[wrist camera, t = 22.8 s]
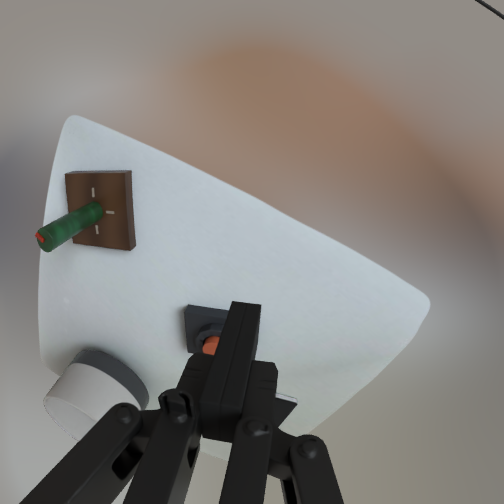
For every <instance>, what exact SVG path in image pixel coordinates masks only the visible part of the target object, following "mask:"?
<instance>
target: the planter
mask: <svg viewBox="0 0 504 504" xmlns="http://www.w3.org/2000/svg"><path fill="white" fill-rule="evenodd" d="M43 402H44V406H45V408H46V410H47V412H48V414H49V415H50V416H51V418H52V419H53V420H54V421H55V422H56V423H57V424H58V425H59V426H60V427H61V428H62V429H63V430H64V431H65V432H67V433H68V434H69V435H70V436H72V437H73V438H74V439H76V440H77V441H80V440H81V439H82V438H83V437H84V436H85V435H86V433H87V432H88V431H89V430H90V429H91V428H92V427H93V426H94V425H95V424H96V423H97V422H98V421H99V420H100V419H101V418H102V417H103V416H104V415H105V413H106V412H107V411H108V410H109V409H110V408H111V407H113V406H114V405H115V404H118V403H121V402H128V403H131V404H134V405H135V406H136V407H137V408H138V409H139V410H145V408H146V406H147V404H148V402H149V394H148V391H147V389H146V387H145V385H144V384H143V382H142V381H141V380H140V379H139V377H138V376H137V375H136V374H135V373H134V372H133V371H132V370H130V369H129V368H128V367H127V366H125V365H124V364H123V363H121V362H120V361H118V360H117V359H115V358H113V357H111V356H109V355H107V354H105V353H102V352H99V351H95V350H84V351H81V352H79V353H78V354H77V356H76V357H75V358H74V359H73V361H72V362H71V363H70V365H69V366H68V367H67V368H66V370H65V371H64V372H63V374H62V375H61V376H60V378H59V379H58V380H57V382H56V383H55V384H54V386H53V387H52V388H51V390H50V391H49V392H48V394H47V395H46V397H45V398H44V400H43Z"/></svg>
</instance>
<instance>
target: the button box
mask: <svg viewBox="0 0 504 504" xmlns="http://www.w3.org/2000/svg"><path fill="white" fill-rule="evenodd" d="M228 312H229V311H228V310H221V309H214V308H207V307H201V306H194V305H188V306H187V308H186V310H185V312H184V314H185V327H186V338H187V349H188V353H193V354H195V353H196V352H200V353H204V352H203V345H204V343H205V340H206V339H207V338H208V337H210V336H217V337H220V336H221V333H222V330H223V327H224V324H225V321H226V318H227V315H228Z"/></svg>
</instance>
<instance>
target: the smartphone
mask: <svg viewBox="0 0 504 504" xmlns="http://www.w3.org/2000/svg"><path fill="white" fill-rule="evenodd" d="M297 402H298V401H297V399H295V398H291V397H287V396H284V395H280V394H276V398H275V407H274V422H275V424H276V426H277V427H279V426H280V424H281V423H282V422H283V421H284V420H285V419H286V417H287V416H288V415H289V414H290V413H291V412H292V411H293V409H294V408H295V407H296V405H297Z"/></svg>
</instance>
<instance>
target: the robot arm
mask: <svg viewBox="0 0 504 504" xmlns="http://www.w3.org/2000/svg"><path fill="white" fill-rule="evenodd" d="M475 1H477V2H479V3H480V4H481V5H483V6H484V7H486V8H487V9H489V10H490V11H492V12H494V13H495V14H496V15H498V16H499V17H501V18H502V19H504V15H502V14H501V13H500V12H498V11H497V10H495V9H494V8H492V7H491V6H490V5H488V4H486V3H485V2H484V1H482V0H475ZM260 313H261V305H259V304H251V303H243V302H235V301H232V303H231V306H230V309H229V312H228V315H227V318H226V321H225V324H224V327H223V330H222V333H221V336H220V338H219V341H218V344H217V347H216V350H215V353H214V355H211V354H205V353H200V352H196V353H195V354H193V355H192V356H191V357H190V358H189V359H188V362H187V364H186V366H185V369H184V371H183V373H182V376H181V378H180V380H179V383H178V385H177V387H176V389H169V390H166V391H164V392H163V393H161V395H160V396H159V397H158V400H159V404H160V408H161V409H157V410H139V409H138V408H137V407H136V406H135V405H134V404H131V403H128V402H121V403H118V404H115V405H114V406H113V407H111V408H110V409H109V410H108V411H107V412H106V413H105V415H104V416H103V417H102V418H101V419H100V420H99V421H98V422H97V423H96V424H95V425H94V426H93V427H92V428H91V429H90V430H89V431H88V432H87V433H86V435H85V436H84V437H83V438H82V439H81V440H80V441H79V442H78V443H77V444H76V445H75V446H74V447H73V448H72V449H71V450H70V451H69V452H68V453H67V455H65V457H64V458H63V459H62V460H61V461H60V462H59V463H58V464H57V465H56V466H55V467H54V468H53V469H52V470H51V471H50V472H49V473H48V474H47V475H46V477H44V478H43V479H42V481H41V482H40V483H39V484H38V485H37V486H36V487H35V488H34V489H33V490H32V491H31V492H30V493H29V494H28V495H27V496H26V497H25V498H24V499H23V500H22V501H21V502H20V503H19V504H111V503H112V502H113V501H114V500H115V498H116V497H117V496H118V495H119V493H120V492H121V491H122V490H123V489H124V487H125V486H126V485H127V483H128V482H129V481H130V479H131V478H132V477H133V476H134V477H133V479H132V482H131V484H130V487H129V489H128V492H127V494H126V497H125V499H124V501H123V504H184V501H185V498H186V494H187V491H188V487H189V484H190V481H191V477H192V473H193V470H194V467H195V463H196V460H197V457H198V453H199V450H200V438H201V435H202V436H203V438H207V439H212V440H217V441H223V442H229V443H232V448H231V452H230V457H229V461H228V466H227V470H226V474H225V479H224V483H223V488H222V492H221V496H220V501H219V504H263V502H264V494H265V488H266V480H267V474H269V475H271V476H273V477H276V478H279V479H280V481H281V487H282V492H283V497H284V502H285V504H344V502H343V499H342V496H341V493H340V489H339V486H338V483H337V480H336V476H335V473H334V470H333V467H332V463H331V460H330V457H329V454H328V450H327V447H326V445H325V443H324V442H323V440H321V439H320V438H319V437H317V436H314V435H301V436H298V437H295V436H292V435H289V434H287V433H285V432H283V431H281V430H280V429H279V428H278V427H277V426H276V424H275V422H274V407H275V398H276V388H277V378H278V370H277V368H276V366H275V363H273V362H264V361H256V360H255V355H256V350H257V344H258V334H259V324H260Z"/></svg>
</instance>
